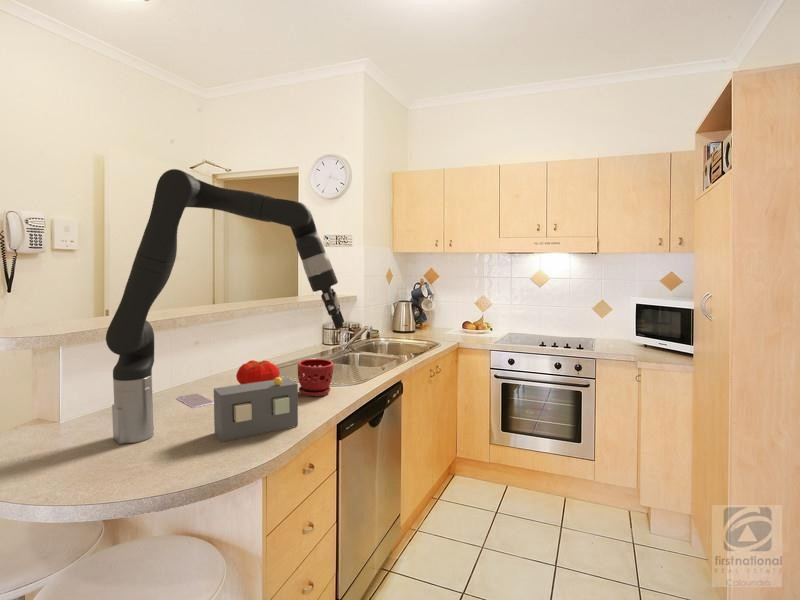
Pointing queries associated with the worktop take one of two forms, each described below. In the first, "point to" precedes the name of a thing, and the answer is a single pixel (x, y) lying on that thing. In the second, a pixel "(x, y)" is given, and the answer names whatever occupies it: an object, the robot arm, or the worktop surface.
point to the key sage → (280, 405)
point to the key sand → (242, 412)
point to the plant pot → (315, 376)
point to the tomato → (257, 372)
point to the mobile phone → (195, 400)
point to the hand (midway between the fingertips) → (340, 325)
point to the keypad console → (254, 408)
